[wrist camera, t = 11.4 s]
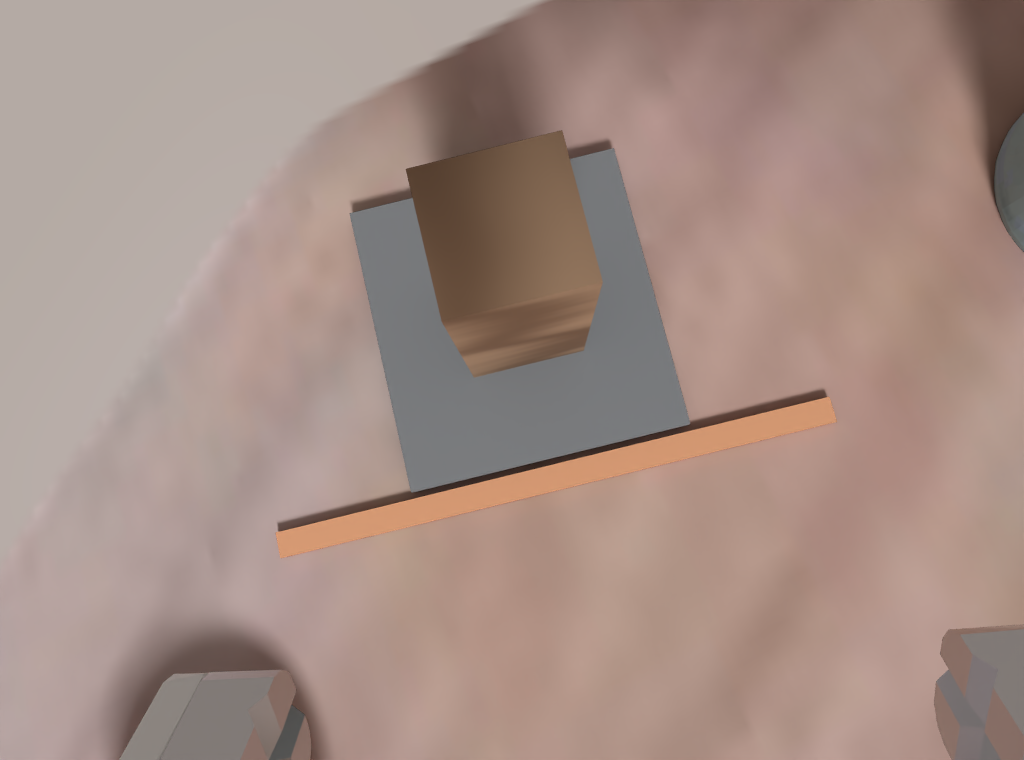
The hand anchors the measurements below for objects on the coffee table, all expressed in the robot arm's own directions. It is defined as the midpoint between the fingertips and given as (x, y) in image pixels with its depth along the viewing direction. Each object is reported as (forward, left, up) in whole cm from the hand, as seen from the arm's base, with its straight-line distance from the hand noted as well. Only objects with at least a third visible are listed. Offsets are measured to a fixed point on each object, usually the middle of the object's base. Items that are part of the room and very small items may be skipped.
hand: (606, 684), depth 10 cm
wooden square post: (0, -10, -20) cm, 22 cm away
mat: (0, -10, -21) cm, 23 cm away
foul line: (0, -3, -21) cm, 21 cm away
